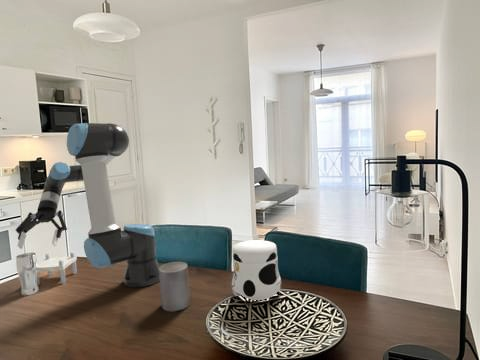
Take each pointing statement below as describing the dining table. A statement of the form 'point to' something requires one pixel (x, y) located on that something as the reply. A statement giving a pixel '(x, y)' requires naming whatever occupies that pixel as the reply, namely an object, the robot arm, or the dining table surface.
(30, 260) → the silver metal goblet
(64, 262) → the shelf stand
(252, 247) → the milk container
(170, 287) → the pillar candle
